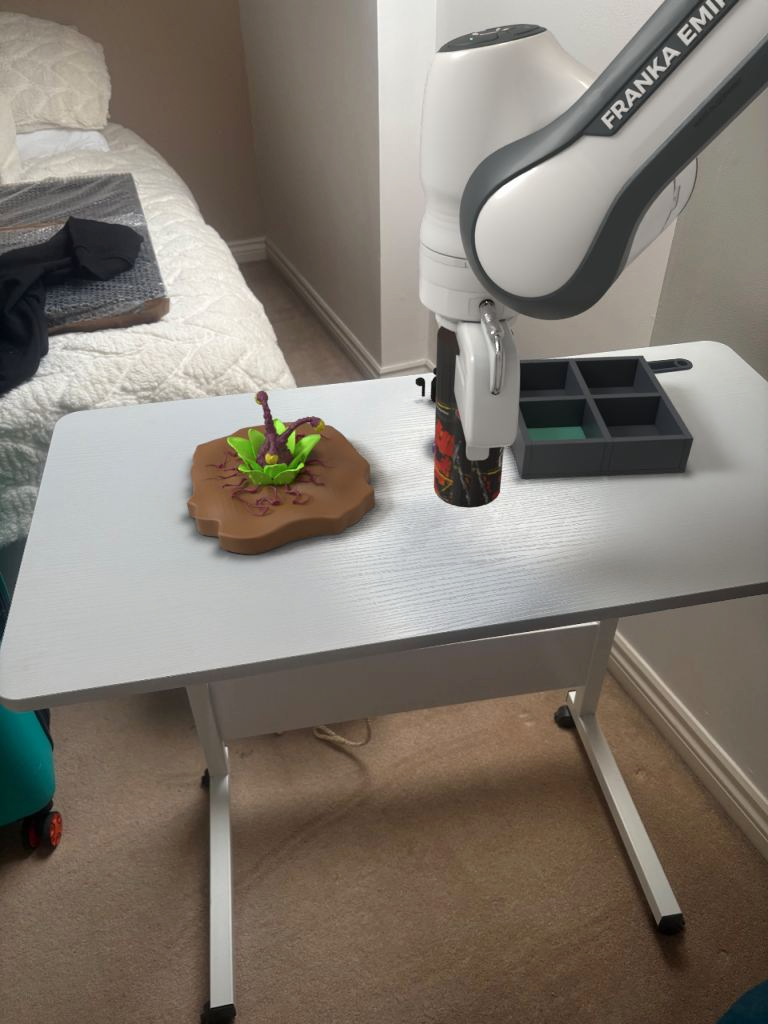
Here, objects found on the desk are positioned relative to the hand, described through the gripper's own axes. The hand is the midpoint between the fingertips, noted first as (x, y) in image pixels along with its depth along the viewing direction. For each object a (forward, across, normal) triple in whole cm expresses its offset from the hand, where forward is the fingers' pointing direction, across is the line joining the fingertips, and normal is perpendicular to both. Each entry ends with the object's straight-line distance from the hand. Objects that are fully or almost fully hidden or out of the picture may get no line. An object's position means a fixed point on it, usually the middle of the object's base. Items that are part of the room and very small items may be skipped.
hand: (470, 430), depth 70 cm
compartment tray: (+16, +23, -18) cm, 33 cm away
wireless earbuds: (+16, +30, -2) cm, 34 cm away
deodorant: (+6, 0, 0) cm, 6 cm away
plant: (+16, +14, +18) cm, 28 cm away
